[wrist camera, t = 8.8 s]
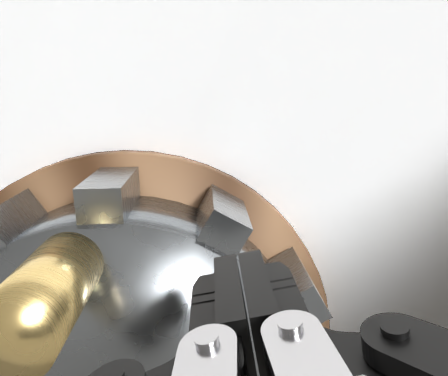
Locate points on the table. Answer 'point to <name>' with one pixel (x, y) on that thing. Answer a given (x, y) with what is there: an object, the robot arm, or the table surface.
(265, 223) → the sprocket base
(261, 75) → the table surface
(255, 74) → the table surface
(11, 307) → the sprocket wheel
